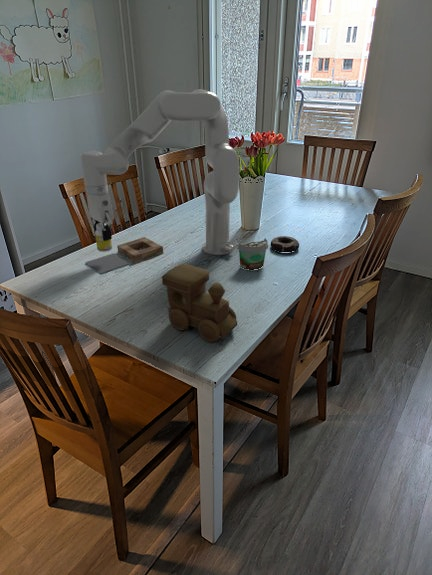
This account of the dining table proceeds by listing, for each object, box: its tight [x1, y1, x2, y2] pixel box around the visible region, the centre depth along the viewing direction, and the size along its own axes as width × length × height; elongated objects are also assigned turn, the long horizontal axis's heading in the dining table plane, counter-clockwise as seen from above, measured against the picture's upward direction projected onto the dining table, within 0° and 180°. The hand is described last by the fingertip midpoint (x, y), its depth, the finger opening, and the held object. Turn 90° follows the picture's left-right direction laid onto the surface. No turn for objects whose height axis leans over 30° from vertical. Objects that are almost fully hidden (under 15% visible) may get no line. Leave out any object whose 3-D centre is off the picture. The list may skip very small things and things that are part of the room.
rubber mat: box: [85, 253, 130, 275], centre depth 158 cm, size 12×12×1 cm
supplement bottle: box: [94, 223, 113, 253], centre depth 153 cm, size 5×5×10 cm
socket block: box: [116, 237, 164, 264], centre depth 166 cm, size 13×13×3 cm
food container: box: [237, 238, 269, 270], centre depth 153 cm, size 12×6×10 cm, turn 117°
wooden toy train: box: [161, 263, 238, 343], centre depth 118 cm, size 20×11×17 cm, turn 57°
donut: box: [270, 235, 300, 253], centre depth 170 cm, size 12×12×4 cm
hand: (103, 236), depth 152 cm, fingers closed on supplement bottle, 5 cm apart
